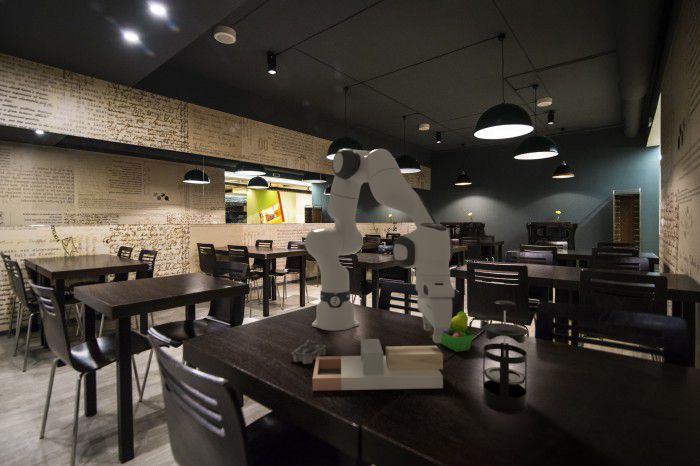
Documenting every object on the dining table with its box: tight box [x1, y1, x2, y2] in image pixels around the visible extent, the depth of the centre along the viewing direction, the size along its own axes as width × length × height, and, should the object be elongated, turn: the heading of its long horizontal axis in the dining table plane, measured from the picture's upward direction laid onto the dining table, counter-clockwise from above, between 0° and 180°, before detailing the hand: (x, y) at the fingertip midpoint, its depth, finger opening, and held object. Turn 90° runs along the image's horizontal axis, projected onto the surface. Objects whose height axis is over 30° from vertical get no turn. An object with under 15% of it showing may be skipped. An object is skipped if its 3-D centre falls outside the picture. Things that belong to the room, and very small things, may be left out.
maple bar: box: [385, 345, 444, 370], centre depth 92 cm, size 6×14×4 cm, turn 92°
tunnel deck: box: [312, 338, 444, 392], centre depth 92 cm, size 14×32×8 cm, turn 92°
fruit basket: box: [439, 311, 475, 353], centre depth 115 cm, size 11×9×11 cm
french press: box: [481, 300, 529, 415], centre depth 79 cm, size 12×9×23 cm
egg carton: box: [290, 338, 327, 365], centre depth 106 cm, size 11×8×4 cm
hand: (431, 335), depth 93 cm, fingers open, 8 cm apart
